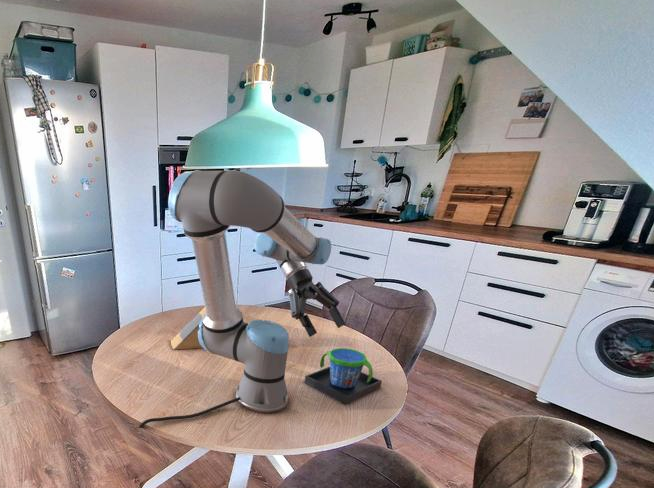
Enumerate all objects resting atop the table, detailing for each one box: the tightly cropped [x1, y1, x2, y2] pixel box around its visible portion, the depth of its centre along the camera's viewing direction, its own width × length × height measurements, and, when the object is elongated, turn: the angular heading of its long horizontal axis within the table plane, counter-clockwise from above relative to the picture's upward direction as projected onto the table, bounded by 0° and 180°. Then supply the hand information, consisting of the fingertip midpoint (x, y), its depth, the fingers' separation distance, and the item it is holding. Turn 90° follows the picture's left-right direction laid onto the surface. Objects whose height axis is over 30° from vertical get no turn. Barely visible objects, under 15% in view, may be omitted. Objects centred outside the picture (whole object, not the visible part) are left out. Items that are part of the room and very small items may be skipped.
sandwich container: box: [170, 306, 206, 350], centre depth 150 cm, size 9×15×15 cm, turn 98°
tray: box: [304, 366, 383, 405], centre depth 122 cm, size 17×15×2 cm
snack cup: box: [319, 347, 374, 389], centre depth 121 cm, size 16×10×10 cm
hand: (327, 330), depth 122 cm, fingers open, 13 cm apart
